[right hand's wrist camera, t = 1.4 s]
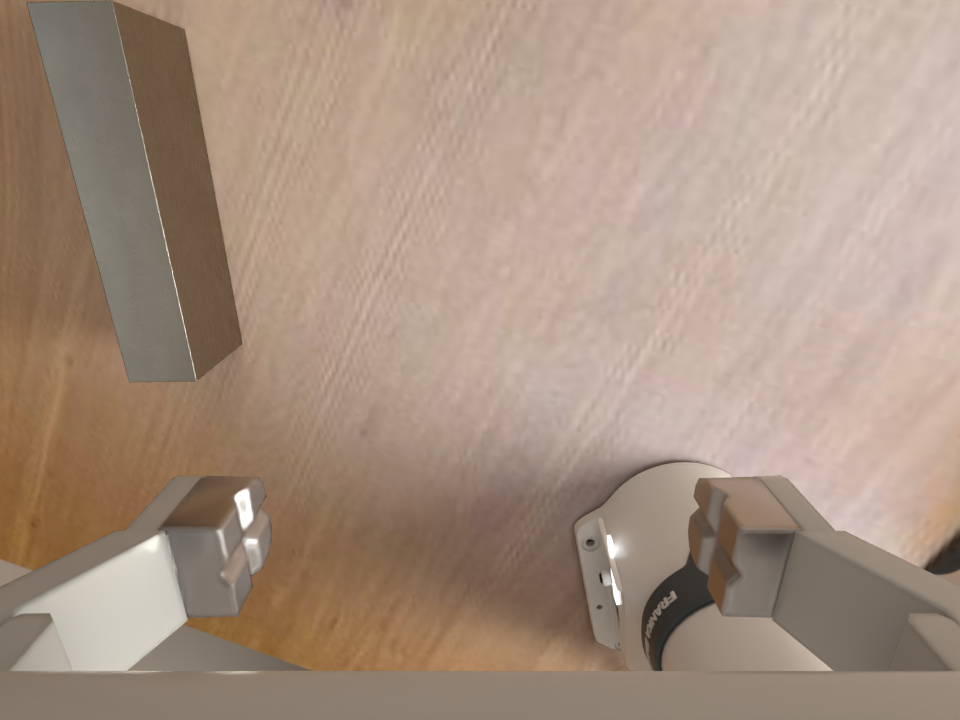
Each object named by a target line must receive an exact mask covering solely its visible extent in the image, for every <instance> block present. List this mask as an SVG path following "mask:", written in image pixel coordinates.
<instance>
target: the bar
mask: <svg viewBox="0 0 960 720" xmlns="http://www.w3.org/2000/svg"><path fill="white" fill-rule="evenodd" d="M27 6H28V10H29V14H30V17H31V21H32V25H33V28H34V32H35V36H36V39H37V43H38V47H39V51H40V54H41V58H42V62H43V65H44V69H45V73H46V76H47V80H48V84H49V88H50V91H51V95H52V99H53V102H54V106H55V110H56V113H57V117H58V121H59V125H60V128H61V132H62V136H63V139H64V143H65V147H66V150H67V154H68V158H69V161H70V165H71V169H72V173H73V176H74V180H75V184H76V187H77V191H78V195H79V198H80V202H81V206H82V210H83V213H84V217H85V221H86V224H87V228H88V232H89V235H90V239H91V243H92V247H93V250H94V254H95V258H96V261H97V265H98V269H99V272H100V276H101V280H102V284H103V287H104V291H105V295H106V298H107V302H108V306H109V309H110V313H111V317H112V320H113V324H114V328H115V332H116V335H117V339H118V343H119V346H120V350H121V354H122V357H123V361H124V365H125V369H126V372H127V376H128V380H129V382H181V381H197V380H199V379H200V378H201V377H202V376H204V375H205V374H206V373H207V372H208V371H210V370H211V369H212V368H213V367H215V366H216V365H217V364H218V363H219V362H221V361H222V360H223V359H224V358H226V357H227V356H228V355H229V354H230V353H232V352H233V351H234V350H235V349H237V348H238V347H239V346H240V345H241V344H242V340H241V334H240V329H239V323H238V318H237V312H236V307H235V302H234V296H233V291H232V285H231V280H230V274H229V269H228V264H227V258H226V253H225V247H224V242H223V236H222V231H221V226H220V220H219V215H218V209H217V204H216V198H215V193H214V187H213V182H212V177H211V171H210V166H209V160H208V155H207V149H206V144H205V139H204V133H203V128H202V122H201V117H200V111H199V106H198V101H197V95H196V90H195V84H194V79H193V73H192V68H191V63H190V57H189V52H188V46H187V41H186V35H185V30H184V29H182V28H180V27H177V26H175V25H172V24H170V23H167V22H165V21H162V20H160V19H157V18H155V17H152V16H150V15H147V14H145V13H142V12H140V11H137V10H134V9H132V8H129V7H127V6H124V5H122V4H119V3H117V2H114V1H112V0H107V1H59V2H27Z"/></svg>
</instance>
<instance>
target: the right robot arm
mask: <svg viewBox="0 0 960 720" xmlns="http://www.w3.org/2000/svg"><path fill="white" fill-rule="evenodd" d="M266 497H267V496H266V491H265V487H264V482H263V481H262V480H261V479H260V478H259V477H228V476H206V477H205V476H179V477H175V478H173V479H172V480H171V481H170V482H169V483H168V484H167V485H166V486H165V487H164V489H163V490H162V491H161V492H160V493H159V494H158V495H157V496H156V497H155V498H154V499H153V500H152V502H151V503H150V504H149V505H148V506H147V507H146V508H145V509H144V510H143V511H142V512H141V513H140V515H139V516H138V517H137V518H136V519H135V520H134V521H133V522H132V523H131V524H130V525H129V527H128V528H127V529H126V530H125V531H114V532H112V533H110V534H108V535H106V536H104V537H102V538H100V539H98V540H96V541H94V542H92V543H90V544H88V545H86V546H84V547H81V548H79V549H77V550H75V551H73V552H71V553H69V554H67V555H65V556H63V557H61V558H59V559H57V560H55V561H53V562H51V563H48V564H46V565H44V566H42V567H40V568H38V569H36V570H34V571H32V572H30V573H28V574H26V575H24V576H22V577H20V578H18V579H16V580H14V581H11V582H9V583H7V584H5V585H3V586H1V587H0V720H960V587H959V586H957V585H954V584H952V583H950V582H948V581H946V580H944V579H942V578H940V577H938V576H936V575H934V574H932V573H930V572H928V571H926V570H924V569H922V568H920V567H917V566H915V565H913V564H911V563H909V562H907V561H905V560H903V559H901V558H899V557H897V556H895V555H893V554H891V553H889V552H887V551H885V550H883V549H881V548H878V547H876V546H874V545H872V544H870V543H868V542H866V541H864V540H862V539H860V538H858V537H856V536H854V535H852V534H850V533H848V532H846V531H835V530H834V529H833V528H832V527H831V525H830V524H829V523H828V522H827V521H826V520H825V519H824V518H823V517H822V516H821V515H820V513H819V512H818V511H817V510H816V509H815V508H814V507H813V506H812V505H811V504H810V503H809V502H808V500H807V499H806V498H805V497H804V496H803V495H802V494H801V493H800V492H799V491H798V490H797V488H796V487H795V486H794V485H793V484H792V483H791V482H790V481H789V480H788V479H787V478H785V477H783V476H754V477H732V476H731V475H729V474H728V473H726V472H724V471H722V470H720V469H718V468H716V467H713V466H710V465H706V464H701V463H694V462H676V463H669V464H664V465H659V466H656V467H653V468H650V469H648V470H645V471H643V472H641V473H639V474H637V475H635V476H634V477H632V478H631V479H629V480H628V481H626V482H625V483H624V484H622V485H621V486H620V487H619V488H618V489H617V490H616V491H615V492H614V493H613V494H612V496H611V497H610V498H609V499H608V500H607V501H606V502H605V503H604V504H603V505H602V506H601V507H600V508H598V509H596V510H594V511H592V512H590V513H588V514H587V515H585V516H583V517H582V518H580V519H579V520H578V521H577V522H576V523H575V526H574V534H575V539H576V544H577V550H578V555H579V561H580V566H581V571H582V577H583V582H584V588H585V593H586V598H587V604H588V609H589V615H590V620H591V625H592V630H593V633H594V636H595V639H596V641H597V642H598V643H600V644H602V645H604V646H606V647H609V648H611V649H614V650H618V651H622V655H623V658H624V661H625V664H626V666H627V667H628V668H629V669H630V670H632V671H127V670H128V669H129V668H131V667H132V666H133V665H134V664H135V663H137V662H138V661H139V660H140V659H142V658H143V657H144V656H145V655H146V654H148V653H149V652H150V651H151V650H153V649H154V648H155V647H156V646H157V645H159V644H160V643H161V642H162V641H163V640H165V639H166V638H167V637H168V636H169V635H171V634H172V633H173V632H174V631H176V630H177V629H178V628H179V627H180V626H182V625H183V624H184V623H185V622H186V621H188V619H187V618H198V617H233V616H238V615H239V613H240V611H241V609H242V607H243V605H244V603H245V601H246V600H247V598H248V596H249V594H250V592H251V590H252V588H253V584H252V578H251V576H252V575H253V574H255V573H256V572H258V571H259V570H261V569H262V568H263V566H264V564H265V562H266V560H267V558H268V555H269V551H270V546H271V542H272V525H271V519H270V516H269V515H268V514H267V513H266V512H265V511H264V510H263V509H262V508H261V506H262V504H263V502H264V500H265V499H266ZM589 539H592V541H587V540H589Z"/></svg>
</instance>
